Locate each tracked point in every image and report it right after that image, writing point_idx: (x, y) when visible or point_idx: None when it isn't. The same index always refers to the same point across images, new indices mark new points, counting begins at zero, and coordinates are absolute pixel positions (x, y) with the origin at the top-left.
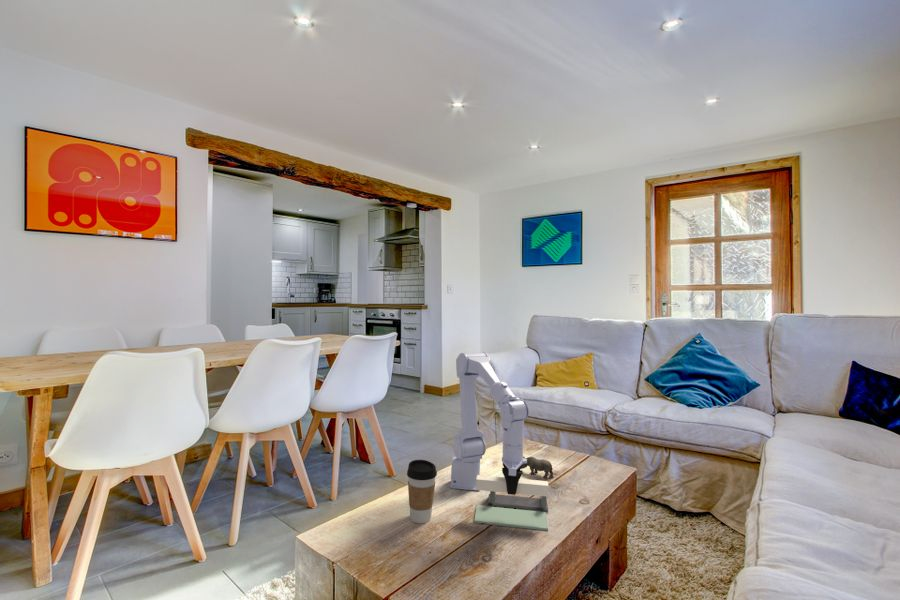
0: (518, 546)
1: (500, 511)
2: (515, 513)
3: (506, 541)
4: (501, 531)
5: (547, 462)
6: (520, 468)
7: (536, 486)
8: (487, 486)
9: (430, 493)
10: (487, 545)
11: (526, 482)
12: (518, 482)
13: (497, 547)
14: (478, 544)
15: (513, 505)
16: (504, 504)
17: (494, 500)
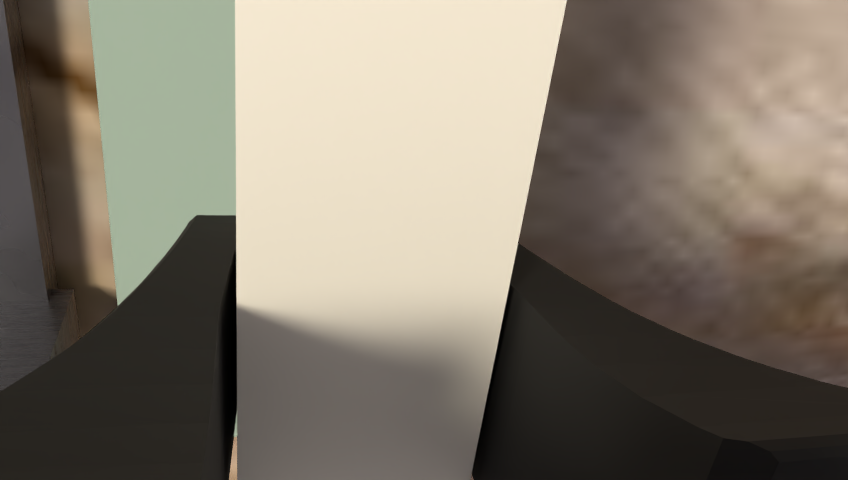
0: (799, 56)
1: None
2: (221, 55)
3: (714, 156)
4: (560, 198)
5: None
6: (207, 449)
7: None
8: None
9: None
10: (745, 291)
11: (463, 80)
12: (481, 278)
13: (781, 223)
14: (724, 346)
15: (15, 74)
16: (31, 190)
17: (61, 326)
